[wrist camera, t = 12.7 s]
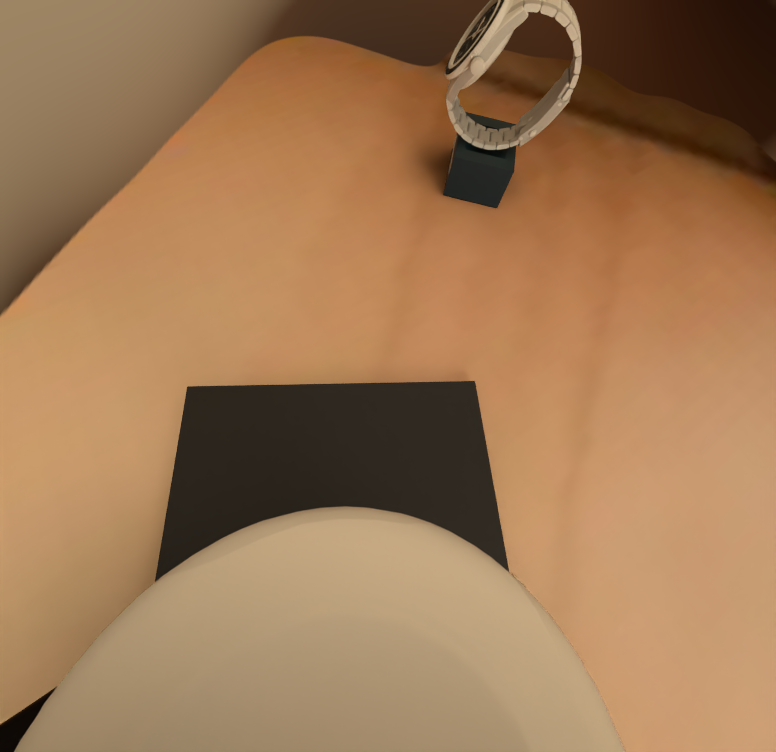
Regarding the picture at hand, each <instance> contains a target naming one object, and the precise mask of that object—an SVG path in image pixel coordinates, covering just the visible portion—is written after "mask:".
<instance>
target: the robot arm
mask: <svg viewBox="0 0 776 752" xmlns="http://www.w3.org/2000/svg"><path fill="white" fill-rule="evenodd" d="M56 688H57V687H56ZM56 688H54V689H53V690H51V691H50V692H48V693H47V694H45V695H44V696H42V697H41V698H39V699H38V700H36V701H35V702H33V703H32V704H31V705H29V706H28V707H26V708H25V709H23V710H22V711H20V712H19V713H17V714H16V715H14V716H13V717H11V718H10V719H8V720H7V721H5V722H4V723H2V724H1V725H0V752H14V751H15V749H16V747H17V746H18V744H19V742H20V740H21V739H22V737H23V736H24V734H25V733H26V731H27V730H28V728H29V727H30V725H31V724H32V723H33V721H34V720H35V718H36V717H37V715H38V714H39V712H40V710H41V708H42V706H43V705H44V703H45V702H46V701H47V699H48V698H49V697H50V695H51V694H52V693H53V692H54V690H55V689H56Z"/></svg>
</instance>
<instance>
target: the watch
mask: <svg viewBox="0 0 776 752" xmlns="http://www.w3.org/2000/svg"><path fill="white" fill-rule="evenodd" d="M539 10H541V11H540V12H541V13H542V14H545V15H548V16H550V17H554V16H555V19H556V20H557V21H558V22H559V23H560V24H561V25H562V26H563V27H566V31H567V33H568V34H569V36H570V38H571V40H572V41H573V47H574V53H573V60H572V62H571V65H570V68H569V69H568V68H567V69H566V70H565V72H564V73H563V75H562V77H561V78H560V80H559V81H557V82H556V83H555V84H554V86H553V87H552V88H551V89H550V91H549V92H548V93H547V94H546V95H545V96H544V97H543V99H542V100H541V101H540V102H539V103H538V104H536V105H535V106H534V107H533V108H532V109H531V110H530V111H528V112H527V113H526V114H525V115H523V116H522V117H521V118H520V119H519V123H518V124H517V125H516V124H512V123H508V122H504V121H500V120H496V119H492V118H488V117H484V116H479V115H475V114H471V113H467V112H465V111H464V110H463V108H462V106H461V105H459V103H460V102H459V99H458V95H457V94H458V92H459V91H460V89H464V88H466V87H468V86H470V85H471V84H473V83H474V82H475V81H476V80H477V79H479V78H480V77H481V76H482V75H483V74H484V72H485V71H486V70H487V69H488V68H489V67H490V66H491V64H492V63H493V62H494V61H495V59H496V58H497V57H498V55H499V54H500V53H501V51H502V50H503V48H504V47H505V45H506V44H507V42H508V40H509V39H510V37H511V35H512V33H513V31H514V29H515V28H516V27H518V26H519V25H520V24H521V23H522V22H524V21H525V19H526V18H527V17H528V13H527V12H538V11H539ZM580 68H581V37H580V28H579V24H578V21H577V17H576V14H575V12H574V10H573V8H572V7H571V6H570V5H569V2H568V1H567V0H490V1H489V2H488V3H487V4H486V5H485V7H484V8H483V9H482V10H481V11H480V13H479V14H478V15H477V16H476V18H475V19H474V21H473V22H472V23H471V25H470V26H469V27H468V29H467V30H466V32H465V33H464V35H463V36H462V38H461V40H460V41H459V43H458V44H457V46H456V48H455V50H454V51H453V53H452V55H451V57H450V59H449V61H448V64H447V66H446V69H445V77H446V78H447V79H450V81H449V86H448V90H447V94H446V104H447V109H448V114H449V117H450V120H451V122H452V124H453V127H454V128H455V130H456V131H457V135H456V138H455V142H454V145H453V149H452V153H451V158H450V163H449V168H448V174H447V179H446V184H445V189H444V194H443V195H445V196H449V197H454V198H458V199H462V200H466V201H470V202H474V203H478V204H482V205H487V206H491V207H495V208H497V207H498V205H499V203H500V200H501V198H502V196H503V194H504V192H505V190H506V188H507V185H508V183H509V181H510V179H511V177H512V175H513V172H514V165H515V152H516V145H519V147H520V146H522V145H523V144H525V143H526V142H528V141H529V140H531V139H532V138H533V137H535V136H536V135H537V134H538V133H540V132H541V131H542V130H543V129H544V128H545V127H547V126H548V125H549V124H550V123H551V122H552V121H553V120H554V118H555V117H556V116H557V115H558V114H559V113H560V112H561V111H562V110H563V108H564V107H565V106H566V105H567V103H568V102H569V100H570V97H571V93H572V92H573V88H574V87H575V85H576V83H577V80H578V77H579V73H580Z"/></svg>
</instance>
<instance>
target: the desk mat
mask: <svg viewBox="0 0 776 752" xmlns="http://www.w3.org/2000/svg"><path fill="white" fill-rule="evenodd" d="M344 506H346V507H365V508H373V509H379V510H384V511H390V512H396V513H402V514H405V515H409V516H412V517H415V518H418V519H421V520H424V521H427V522H430V523H432V524H435V525H437V526H439V527H441V528H444V529H446V530H448V531H450V532H452V533H454V534H455V535H457V536H459V537H460V538H462V539H464V540H466V541H467V542H469V543H471V544H473V545H474V546H476V547H477V548H479V549H480V550H481V551H483V552H484V553H486V554H487V555H489V556H490V557H492V558H493V559H494V560H495V561H496V562H497V563H499V564H500V565H501V566H502V567H503V568H504V569H506V570H507V571H508V572H509V569H508V563H507V558H506V552H505V547H504V541H503V536H502V530H501V524H500V519H499V513H498V508H497V502H496V497H495V491H494V485H493V480H492V474H491V469H490V463H489V457H488V452H487V446H486V441H485V435H484V430H483V424H482V418H481V413H480V407H479V402H478V396H477V391H476V385H475V381H461V382H407V383H354V384H300V385H247V386H193V387H187V392H186V398H185V404H184V410H183V416H182V422H181V428H180V434H179V440H178V446H177V452H176V458H175V465H174V471H173V477H172V483H171V489H170V495H169V501H168V507H167V513H166V519H165V525H164V531H163V537H162V543H161V549H160V555H159V561H158V567H157V573H156V579H155V582H156V581H157V580H158V579H160V578H161V577H162V576H163V575H165V574H166V573H168V572H169V571H170V570H172V569H173V568H175V567H176V566H178V565H179V564H181V563H182V562H184V561H185V560H187V559H188V558H189V557H191V556H192V555H194V554H196V553H197V552H199V551H201V550H202V549H204V548H206V547H208V546H209V545H211V544H213V543H215V542H216V541H218V540H220V539H222V538H223V537H225V536H228V535H230V534H232V533H234V532H236V531H238V530H240V529H242V528H245V527H248V526H250V525H253V524H255V523H258V522H261V521H263V520H267V519H271V518H275V517H279V516H282V515H286V514H290V513H294V512H298V511H304V510H310V509H317V508H326V507H344Z"/></svg>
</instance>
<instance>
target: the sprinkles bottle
mask: <svg viewBox="0 0 776 752" xmlns="http://www.w3.org/2000/svg"><path fill="white" fill-rule="evenodd" d="M14 752H625V749H624V746H623V744H622V742H621V739H620V737H619V735H618V733H617V730H616V728H615V726H614V723H613V721H612V719H611V716H610V714H609V712H608V710H607V707H606V705H605V703H604V701H603V699H602V697H601V695H600V693H599V691H598V688H597V686H596V684H595V682H594V681H593V679H592V678H591V676H590V675H589V673H588V672H587V670H586V669H585V666H584V663H583V662H582V660H581V659H580V657H579V656H578V654H577V653H576V651H575V650H574V648H573V647H572V645H571V644H570V642H569V641H568V639H567V638H566V636H565V635H564V633H563V632H562V631H561V629H560V628H559V626H558V625H557V624H556V622H555V621H554V619H553V618H552V617H551V615H550V614H549V613H548V612H547V611H546V610H545V609H544V607H543V606H542V605H541V604H540V603H539V602H538V601H537V600H536V598H535V597H534V596H533V595H532V594H531V593H530V592H529V591H528V590H527V589H526V587H525V586H524V585H523V584H522V583H521V582H520V581H518V580H517V579H516V578H515V577H514V576H513V575H511V574H510V573H509V572H508V571H507V570H506V569H504V568H503V567H502V566H501V565H500V564H499V563H497V562H496V561H495V560H494V559H493V558H492V557H490V556H489V555H487V554H486V553H484V552H483V551H481V550H480V549H479V548H477V547H476V546H474V545H473V544H471V543H469V542H467V541H466V540H464V539H462V538H460V537H459V536H457V535H455V534H454V533H452V532H450V531H448V530H446V529H444V528H441V527H439V526H437V525H435V524H432V523H430V522H427V521H424V520H421V519H418V518H415V517H412V516H409V515H405V514H402V513H396V512H390V511H384V510H379V509H373V508H365V507H346V506H344V507H326V508H317V509H310V510H304V511H298V512H294V513H290V514H286V515H282V516H279V517H275V518H271V519H267V520H263V521H261V522H258V523H255V524H253V525H250V526H248V527H245V528H242V529H240V530H238V531H236V532H234V533H232V534H230V535H228V536H225V537H223V538H222V539H220V540H218V541H216V542H215V543H213V544H211V545H209V546H208V547H206V548H204V549H202V550H201V551H199V552H197V553H196V554H194V555H192V556H191V557H189V558H188V559H187V560H185V561H184V562H182V563H181V564H179V565H178V566H176V567H175V568H173V569H172V570H170V571H169V572H168V573H166V574H165V575H163V576H162V577H161V578H160V579H158V580H157V581H156V582H155V583H154V584H152V585H151V586H150V587H149V588H147V589H146V590H145V591H144V592H143V593H141V594H140V595H139V596H138V597H137V598H136V599H135V600H134V601H133V602H132V603H131V604H130V605H129V606H128V607H127V608H125V609H124V610H123V611H122V612H121V613H120V614H119V615H118V616H117V617H116V618H115V619H114V620H113V621H112V622H111V623H110V624H109V625H108V626H107V627H106V628H105V629H104V630H103V631H102V632H101V633H100V635H99V636H98V637H97V638H96V639H95V641H94V642H93V643H92V644H91V645H90V647H89V648H88V649H87V650H86V651H85V653H84V654H83V655H82V656H81V657H80V659H79V660H78V661H77V662H76V663H75V665H74V666H73V667H72V668H71V670H70V671H69V672H68V673H67V675H66V676H65V677H64V679H63V680H62V681H61V682H60V684H59V685H58V686H57V688H56V689H55V690H54V692H53V693H52V694H51V695H50V697H49V698H48V699H47V701H46V702H45V703H44V705H43V706H42V708H41V710H40V712H39V714H38V715H37V717H36V718H35V720H34V721H33V723H32V724H31V725H30V727H29V728H28V730H27V731H26V733H25V734H24V736H23V737H22V739H21V740H20V742H19V744H18V746H17V747H16V749H15V751H14Z"/></svg>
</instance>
